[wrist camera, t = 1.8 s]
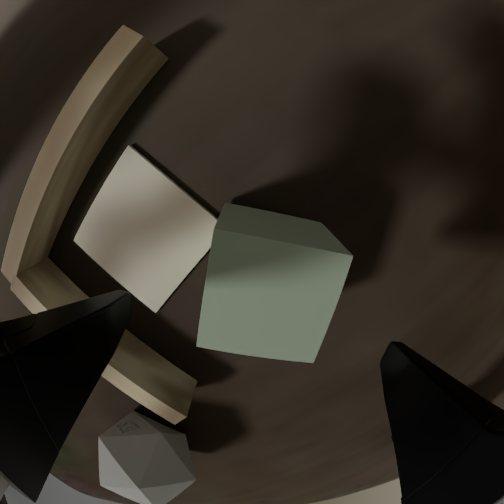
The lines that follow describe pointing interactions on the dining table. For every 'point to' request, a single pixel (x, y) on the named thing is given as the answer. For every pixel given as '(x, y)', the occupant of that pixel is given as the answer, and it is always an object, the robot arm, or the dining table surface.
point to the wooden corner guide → (112, 220)
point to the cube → (270, 284)
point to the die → (144, 460)
